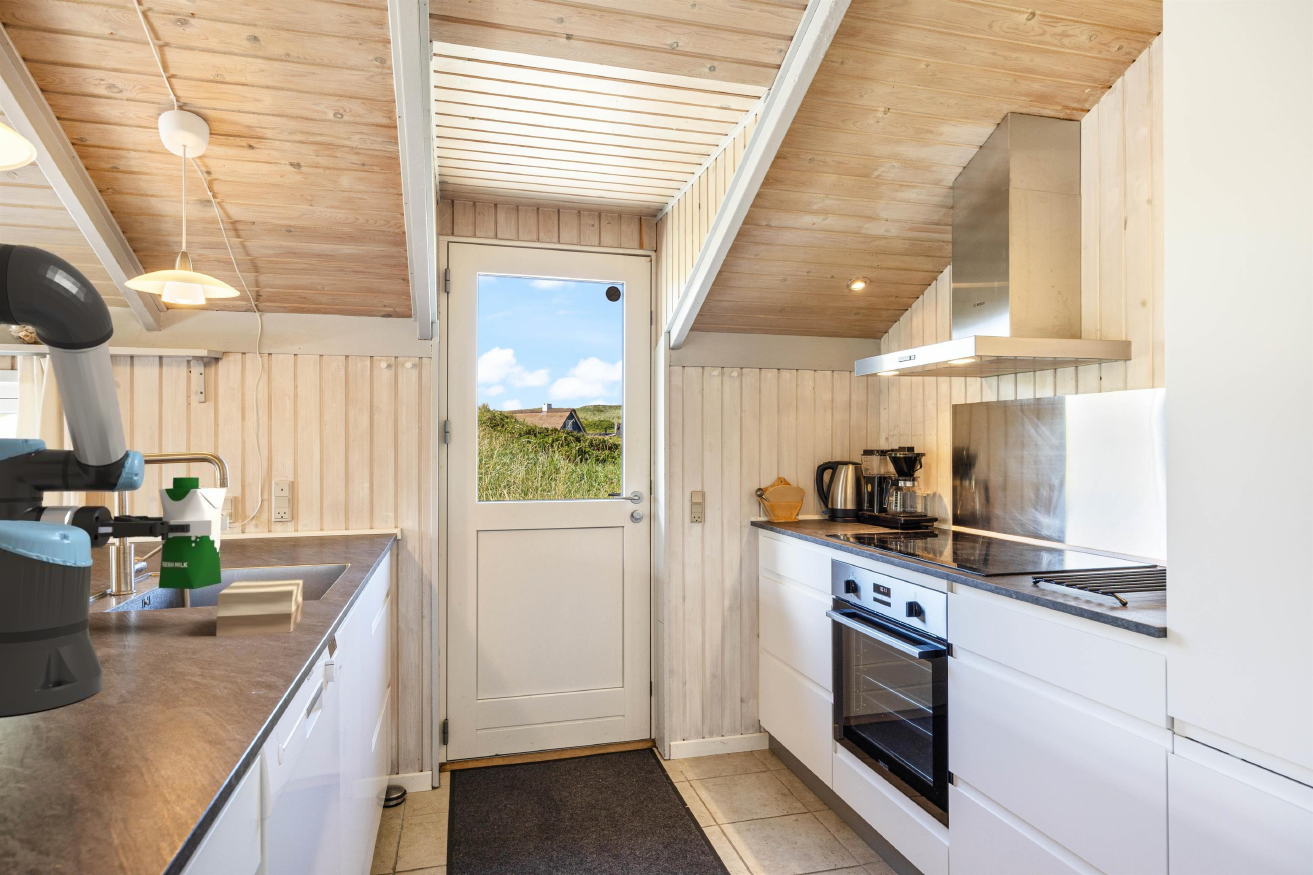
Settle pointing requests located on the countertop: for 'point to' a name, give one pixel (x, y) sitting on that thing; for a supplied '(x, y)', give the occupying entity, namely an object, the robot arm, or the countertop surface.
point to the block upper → (260, 597)
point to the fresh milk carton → (191, 556)
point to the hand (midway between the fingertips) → (220, 525)
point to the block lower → (258, 623)
